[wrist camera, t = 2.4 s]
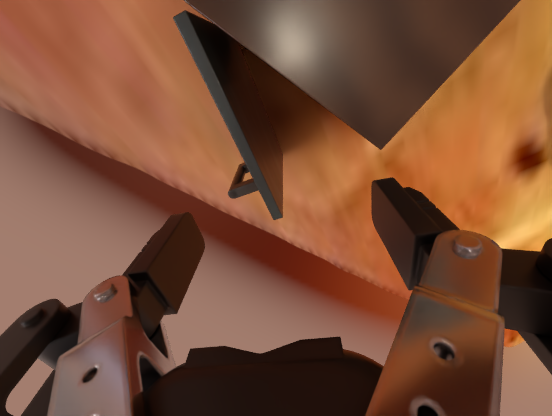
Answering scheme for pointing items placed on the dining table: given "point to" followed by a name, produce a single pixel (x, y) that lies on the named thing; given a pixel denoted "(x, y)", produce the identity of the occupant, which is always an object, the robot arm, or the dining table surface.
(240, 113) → the door
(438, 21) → the cupboard
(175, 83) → the dining table surface
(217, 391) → the robot arm
